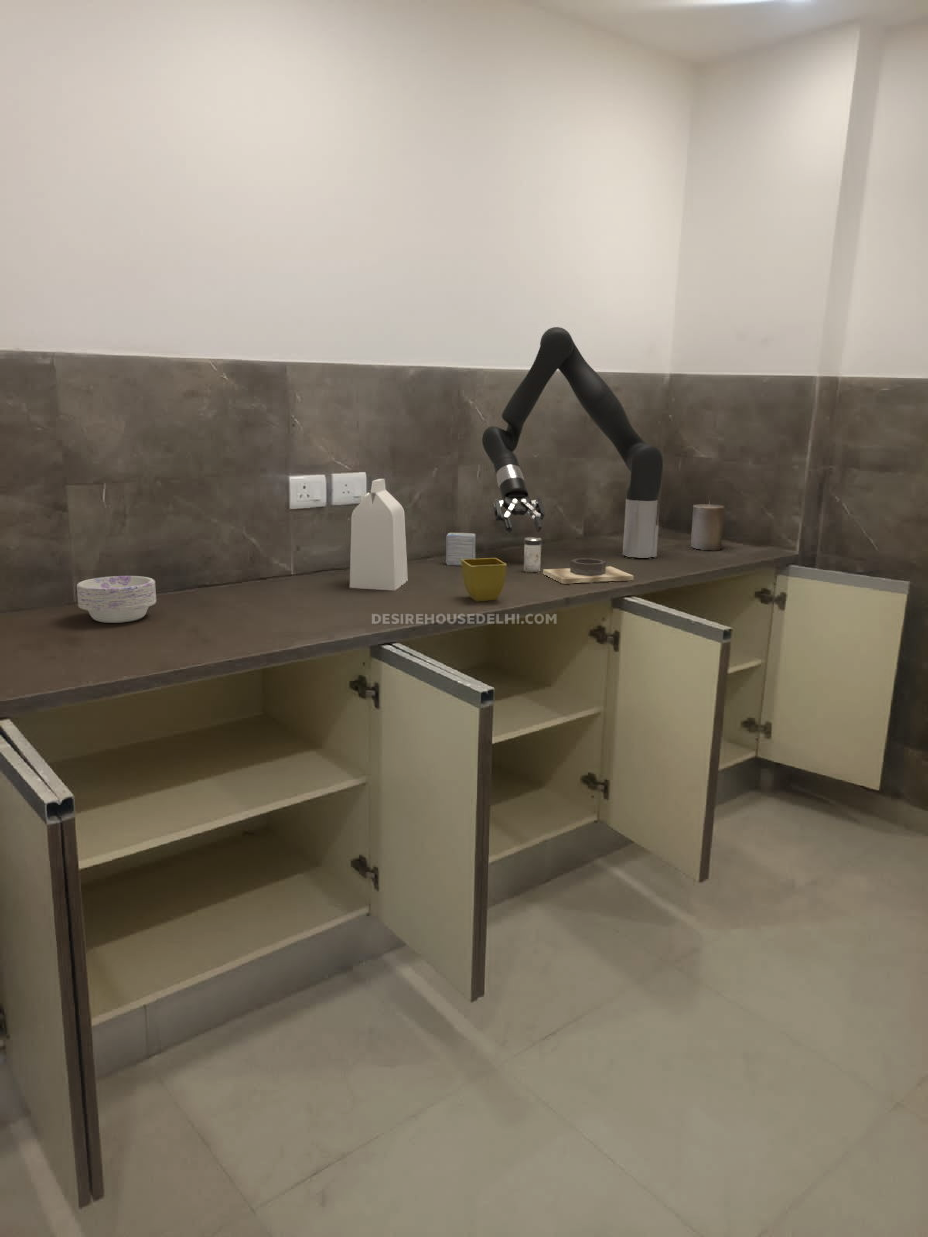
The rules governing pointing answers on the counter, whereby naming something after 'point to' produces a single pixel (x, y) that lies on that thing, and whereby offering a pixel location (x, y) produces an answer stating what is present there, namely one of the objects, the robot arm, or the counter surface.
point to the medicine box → (459, 547)
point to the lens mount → (587, 572)
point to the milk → (378, 541)
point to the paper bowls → (116, 597)
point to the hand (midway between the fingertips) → (524, 530)
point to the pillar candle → (707, 526)
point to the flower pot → (483, 577)
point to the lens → (532, 554)
